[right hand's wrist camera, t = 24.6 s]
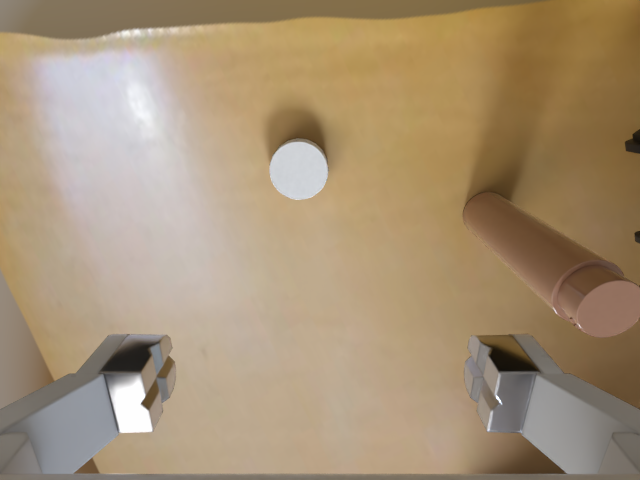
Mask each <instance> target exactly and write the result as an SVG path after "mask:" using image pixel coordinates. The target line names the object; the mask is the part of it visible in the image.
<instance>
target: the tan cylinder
mask: <svg viewBox="0 0 640 480" xmlns="http://www.w3.org/2000/svg"><path fill="white" fill-rule="evenodd" d="M463 221H464V224H465V226H466V227H467V228H468V229H469V230H470V231H471V232H472V233H473V234H474V235H475V236H476V237H477V238H478V239H479V240H480V241H481V242H482V243H483V244H484V245H485V246H486V247H487V248H488V249H490V250H491V251H492V252H493V253H494V254H495V255H496V256H497V257H498V258H499V259H500V260H501V261H502V262H503V263H504V264H505V265H506V266H507V267H508V268H509V269H510V270H511V271H513V272H514V273H515V274H516V275H517V276H518V277H519V278H520V279H521V280H522V281H523V282H524V283H525V284H526V285H527V286H528V287H529V288H530V289H531V290H532V291H533V292H534V293H535V294H537V295H538V296H539V297H540V298H541V299H542V300H543V301H544V302H545V303H546V304H547V305H548V306H549V307H550V308H551V309H552V310H553V311H554V312H555V313H556V314H557V315H558V316H560V317H561V318H562V319H564V320H566V321H570V322H572V324H573V325H574V326H575V327H577V328H578V329H579V330H580V331H583V332H585V333H586V334H588V335H591V336H594V337H611V336H615V335H618V334H620V333H622V332H624V331H626V330H628V329H629V328H630V327H632V326H633V325H634V324H635V323H636V322H637V321H638V319H639V318H640V286H638V285H636V284H635V283H633V282H632V281H630V280H628V279H627V278H625V277H624V275H623V273H622V271H621V270H620V268H619V267H618V266H616V265H615V264H613V263H612V262H610V261H608V260H607V259H605V258H603V257H602V256H600V255H599V254H597V253H595V252H594V251H592V250H590V249H589V248H587V247H585V246H584V245H582V244H580V243H579V242H577V241H575V240H574V239H572V238H570V237H569V236H567V235H565V234H564V233H562V232H560V231H559V230H557V229H555V228H554V227H552V226H550V225H549V224H547V223H545V222H544V221H542V220H540V219H539V218H537V217H535V216H534V215H532V214H530V213H529V212H527V211H525V210H524V209H522V208H520V207H519V206H517V205H515V204H514V203H512V202H510V201H509V200H507V199H505V198H504V197H502V196H500V195H499V194H497V193H493V192H484V193H480V194H478V195H476V196H474V197H473V198H472V199H470V200H469V202H468V203H467V204H466V206H465V208H464V211H463Z"/></svg>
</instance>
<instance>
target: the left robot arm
mask: <svg viewBox="0 0 640 480" xmlns="http://www.w3.org/2000/svg"><path fill="white" fill-rule="evenodd" d="M625 147H626V151H629V152H634V153H639V154H640V129H639V130H638V131H636V132H635V133H634V134H633V139H630V140H627V141H626V142H625ZM635 241H636V242H638V243H640V231H637V232H635Z"/></svg>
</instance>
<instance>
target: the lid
mask: <svg viewBox="0 0 640 480" xmlns="http://www.w3.org/2000/svg"><path fill="white" fill-rule="evenodd" d="M328 171H329V168H328V165H327V158H326V156H325V154H324V152H323V149H321V148H320V147H319V146H318V145H317V144H316V143H314V142H312V141H310V140H307V139H300V138H299V139H298V138H296V139H292V140H287V142H285V143H284V144H282V145H280V146H279V147H278V149H277V151H276V152H275V153H274V154H273V157H272V160H271V163H270V177H271V180H272V183H273V184H274V186H275V188H276V189H277V190H278V191H279V192H280V193H281V194H283V195H284V196H286V197H289V198H292V199H298V200H300V199H307V198H310V197H312V196H314V195H316V194H317V193H318V192H319V191H320V190H321V189H322V188H323V186H324V185H325V183H326V181H327V176H328Z"/></svg>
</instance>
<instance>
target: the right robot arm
mask: <svg viewBox="0 0 640 480" xmlns="http://www.w3.org/2000/svg"><path fill="white" fill-rule="evenodd" d="M171 350H172V343H171V339H170V337H169V336H168V335H150V334H131V335H130V334H112V335H109V336H107V338H106V339H105V340H104V341H103V342H102V343H101V345H100V346H99V347H98V348H97V349H96V350H95V352H94V353H93V354H92V355H91V356H90V357H89V359H88V360H87V361H86V362H85V363H84V364H83V365H82V367H81V368H80V369H79V370H78V371H77V372H76V374H68V375H66V376H64V377H62V378H60V379H58V380H56V381H54V382H52V383H50V384H48V385H46V386H45V387H43V388H41V389H39V390H37V391H35V392H33V393H31V394H29V395H27V396H25V397H23V398H21V399H19V400H17V401H15V402H13V403H11V404H10V405H8V406H6V407H4V408H2V409H0V480H640V409H638V408H636V407H634V406H632V405H630V404H628V403H626V402H624V401H623V400H621V399H619V398H617V397H615V396H613V395H611V394H609V393H607V392H605V391H603V390H601V389H599V388H597V387H595V386H593V385H592V384H590V383H588V382H586V381H584V380H582V379H580V378H578V377H576V376H574V375H572V374H564V372H563V371H562V370H561V369H560V368H559V367H558V366H557V364H556V363H555V362H554V361H553V360H552V359H551V357H550V356H549V355H548V354H547V353H546V352H545V350H544V349H543V348H542V347H541V346H540V345H539V343H538V342H537V341H536V340H535V339H534V338H533V336H531V335H529V334H509V335H471V337H470V339H469V343H468V350H469V352H470V353H471V356H470V357H469V358H468V359H467V360H466V361H465V367H464V379H465V385H466V389H467V391H468V394H469V396H470V398H472V399H473V400H474V401H476V402H477V403H478V407H477V412H478V414H479V416H480V419H481V421H482V423H483V425H484V427H485V429H486V431H487V432H508V433H522V434H521V435H523V436H524V437H525V438H526V439H527V440H528V441H530V442H531V443H532V444H533V445H534V446H535V447H537V448H538V449H539V450H540V451H541V452H542V453H544V454H545V455H546V456H547V457H548V458H550V459H551V460H552V461H553V462H554V463H555V464H557V465H558V466H559V467H560V468H561V469H562V470H564V471H565V472H566V473H567V474H73V473H74V472H75V471H77V470H78V469H79V468H80V467H81V466H82V465H84V464H85V463H86V462H87V461H88V460H89V459H91V458H92V457H93V456H94V455H95V454H96V453H98V452H99V451H100V450H101V449H102V448H104V447H105V446H106V445H107V444H108V443H109V442H111V441H112V440H113V439H114V438H115V437H116V436H118V433H132V432H153V431H154V429H155V427H156V425H157V423H158V421H159V419H160V416H161V414H162V412H163V407H162V403H163V402H164V401H166V400H167V399H168V398H170V396H171V394H172V391H173V389H174V385H175V380H176V366H175V361H174V360H173V359H172V358H171V357H170V356H169V353H170V352H171Z"/></svg>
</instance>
